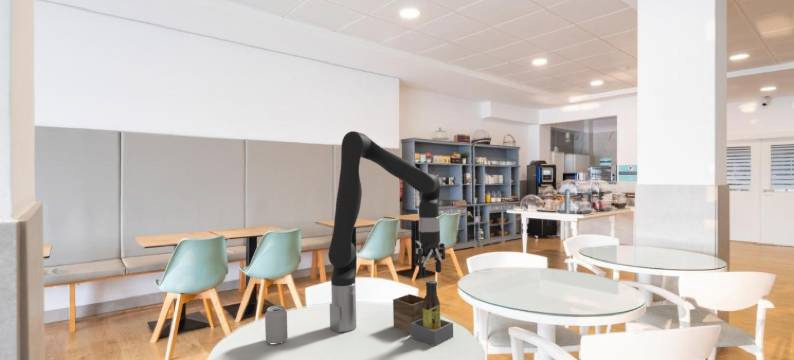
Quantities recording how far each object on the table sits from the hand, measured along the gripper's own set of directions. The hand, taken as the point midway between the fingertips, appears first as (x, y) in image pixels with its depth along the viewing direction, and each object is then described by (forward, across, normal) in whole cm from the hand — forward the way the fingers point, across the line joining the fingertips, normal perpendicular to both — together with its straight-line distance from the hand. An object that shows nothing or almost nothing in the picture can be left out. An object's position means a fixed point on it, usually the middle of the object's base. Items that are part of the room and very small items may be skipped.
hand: (430, 274), depth 141 cm
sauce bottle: (+23, 0, 0) cm, 23 cm away
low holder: (+22, 0, 0) cm, 22 cm away
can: (+22, +40, -39) cm, 60 cm away
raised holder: (+22, -2, -12) cm, 26 cm away
